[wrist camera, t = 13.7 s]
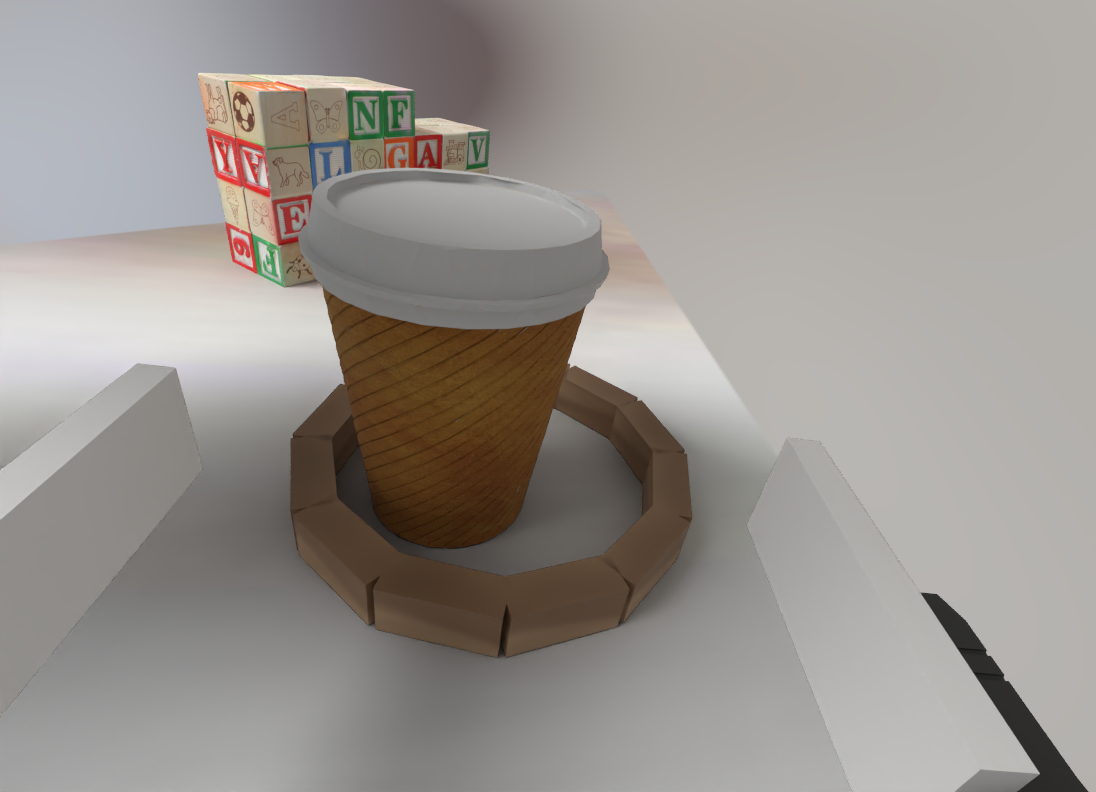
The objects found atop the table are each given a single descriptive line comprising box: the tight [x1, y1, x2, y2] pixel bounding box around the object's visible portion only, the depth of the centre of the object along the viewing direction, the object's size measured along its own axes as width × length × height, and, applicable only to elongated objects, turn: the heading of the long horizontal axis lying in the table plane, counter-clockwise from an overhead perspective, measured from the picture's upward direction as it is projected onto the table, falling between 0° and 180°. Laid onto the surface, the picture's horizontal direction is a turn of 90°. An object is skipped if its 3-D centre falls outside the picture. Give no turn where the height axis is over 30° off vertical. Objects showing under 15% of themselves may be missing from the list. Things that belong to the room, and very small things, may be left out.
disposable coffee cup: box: [298, 168, 609, 548], centre depth 20 cm, size 10×10×12 cm
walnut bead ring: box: [291, 364, 692, 657], centre depth 24 cm, size 16×16×2 cm
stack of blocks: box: [198, 73, 490, 287], centre depth 43 cm, size 21×6×12 cm, turn 145°
